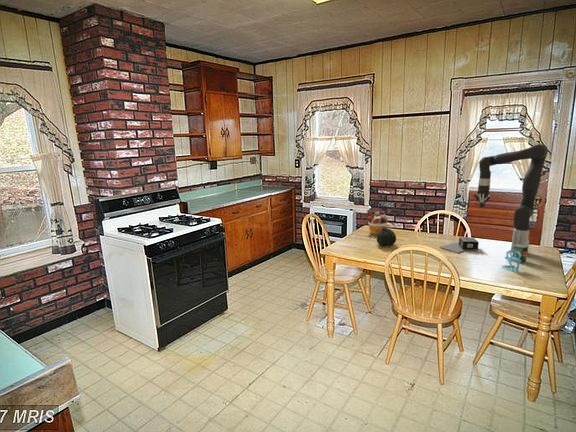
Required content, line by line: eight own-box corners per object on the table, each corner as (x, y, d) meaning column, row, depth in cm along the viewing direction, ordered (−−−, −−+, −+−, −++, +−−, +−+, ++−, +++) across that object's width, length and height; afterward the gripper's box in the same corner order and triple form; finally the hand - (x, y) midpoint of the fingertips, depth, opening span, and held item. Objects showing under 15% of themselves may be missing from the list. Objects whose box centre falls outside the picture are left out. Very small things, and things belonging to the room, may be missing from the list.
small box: (477, 250, 252) (473, 245, 261) (479, 242, 250) (474, 237, 260) (462, 249, 254) (458, 244, 264) (463, 241, 252) (459, 236, 262)
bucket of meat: (391, 232, 305) (392, 210, 301) (383, 236, 292) (384, 213, 288) (369, 229, 317) (370, 207, 312) (362, 233, 304) (362, 211, 300)
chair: (509, 272, 214) (511, 253, 212) (501, 266, 222) (504, 249, 220) (522, 271, 214) (524, 253, 211) (514, 266, 222) (516, 248, 219)
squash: (403, 239, 266) (392, 222, 272) (390, 244, 258) (379, 227, 264) (391, 247, 277) (382, 231, 283) (379, 252, 269) (369, 235, 274)
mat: (474, 248, 258) (474, 247, 258) (457, 253, 249) (457, 252, 248) (456, 243, 271) (456, 242, 271) (439, 247, 261) (439, 246, 261)
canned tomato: (526, 264, 226) (528, 247, 223) (512, 262, 230) (514, 246, 227) (525, 260, 233) (527, 244, 230) (511, 258, 236) (513, 242, 234)
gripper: (496, 184, 251) (493, 208, 255) (478, 183, 263) (476, 205, 267) (490, 186, 248) (487, 209, 252) (472, 184, 259) (470, 206, 263)
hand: (481, 207), depth 259 cm, fingers closed
